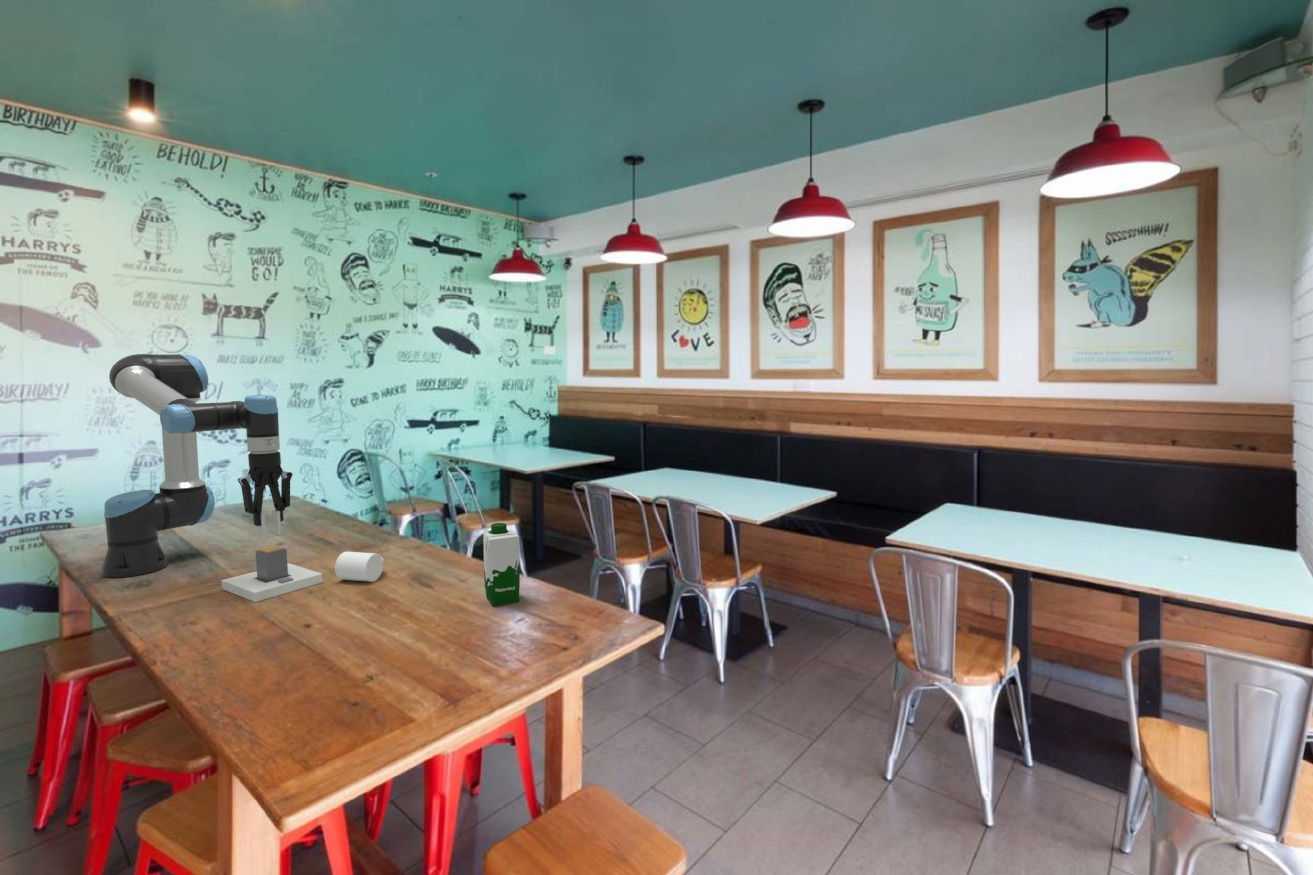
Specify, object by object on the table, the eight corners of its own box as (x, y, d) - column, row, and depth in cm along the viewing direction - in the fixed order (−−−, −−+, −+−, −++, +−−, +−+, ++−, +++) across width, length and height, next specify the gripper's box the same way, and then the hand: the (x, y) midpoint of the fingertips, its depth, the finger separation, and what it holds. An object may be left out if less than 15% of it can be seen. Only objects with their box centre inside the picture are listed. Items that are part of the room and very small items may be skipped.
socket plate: (222, 588, 173) (221, 578, 173) (288, 571, 188) (288, 561, 188) (255, 602, 164) (254, 590, 163) (322, 582, 179) (322, 571, 178)
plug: (257, 585, 175) (255, 549, 174) (278, 579, 180) (275, 544, 178) (268, 589, 172) (265, 552, 171) (288, 583, 177) (286, 547, 176)
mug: (366, 585, 176) (364, 558, 175) (335, 583, 178) (333, 555, 177) (392, 572, 188) (391, 546, 187) (362, 569, 190) (361, 544, 189)
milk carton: (514, 592, 172) (512, 520, 169) (523, 603, 164) (522, 528, 161) (482, 597, 168) (480, 524, 165) (489, 609, 160) (487, 532, 157)
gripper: (238, 456, 163) (244, 544, 165) (301, 449, 177) (306, 530, 179) (224, 454, 167) (230, 539, 169) (287, 447, 181) (292, 526, 183)
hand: (269, 534), depth 174 cm, fingers open, 3 cm apart
